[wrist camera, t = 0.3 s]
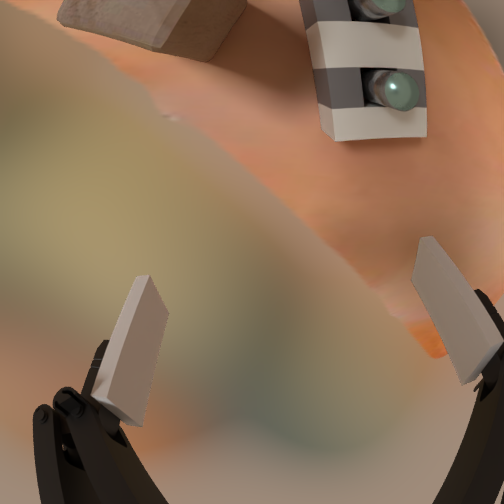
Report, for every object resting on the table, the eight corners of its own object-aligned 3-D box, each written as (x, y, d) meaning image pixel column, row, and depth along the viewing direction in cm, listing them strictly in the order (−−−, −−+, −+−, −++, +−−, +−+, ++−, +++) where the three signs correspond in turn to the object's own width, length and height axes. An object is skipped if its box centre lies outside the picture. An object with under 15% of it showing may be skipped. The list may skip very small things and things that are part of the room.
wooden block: (250, 3, 24) (247, -66, 8) (209, 64, 29) (161, 55, 13) (180, -23, 21) (117, -87, 5) (142, 38, 26) (47, 24, 10)
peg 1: (341, -8, 19) (363, -25, 14) (374, -6, 19) (401, -19, 13) (348, 21, 22) (372, 11, 16) (380, 23, 21) (409, 15, 16)
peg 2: (356, 69, 25) (382, 70, 19) (387, 70, 25) (418, 72, 19) (360, 102, 27) (385, 111, 22) (390, 102, 27) (420, 111, 21)
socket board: (293, -23, 22) (301, -42, 16) (380, -19, 20) (403, -32, 15) (321, 129, 34) (335, 141, 28) (401, 124, 33) (426, 137, 27)
